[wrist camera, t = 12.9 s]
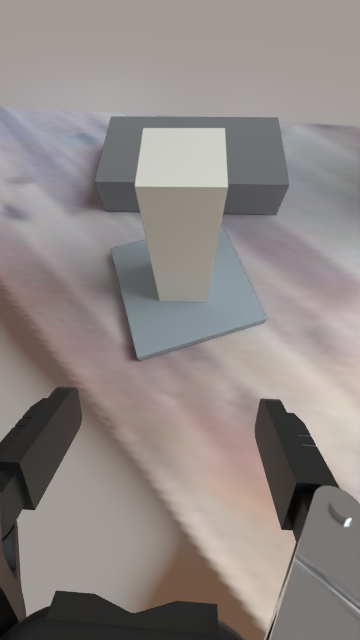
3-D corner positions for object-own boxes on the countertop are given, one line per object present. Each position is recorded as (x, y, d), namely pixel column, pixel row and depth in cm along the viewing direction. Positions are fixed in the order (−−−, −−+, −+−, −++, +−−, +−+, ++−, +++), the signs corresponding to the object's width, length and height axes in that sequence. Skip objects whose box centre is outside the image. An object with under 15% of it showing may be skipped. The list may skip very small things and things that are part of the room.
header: (267, 151, 29) (277, 117, 26) (275, 214, 25) (289, 184, 22) (119, 149, 30) (110, 116, 26) (105, 211, 26) (94, 181, 23)
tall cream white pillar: (206, 262, 22) (224, 128, 12) (206, 302, 20) (228, 187, 10) (162, 261, 22) (143, 128, 12) (159, 301, 21) (134, 186, 10)
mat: (218, 227, 25) (219, 220, 24) (264, 322, 21) (267, 318, 20) (113, 255, 24) (110, 248, 23) (139, 360, 20) (137, 358, 19)
